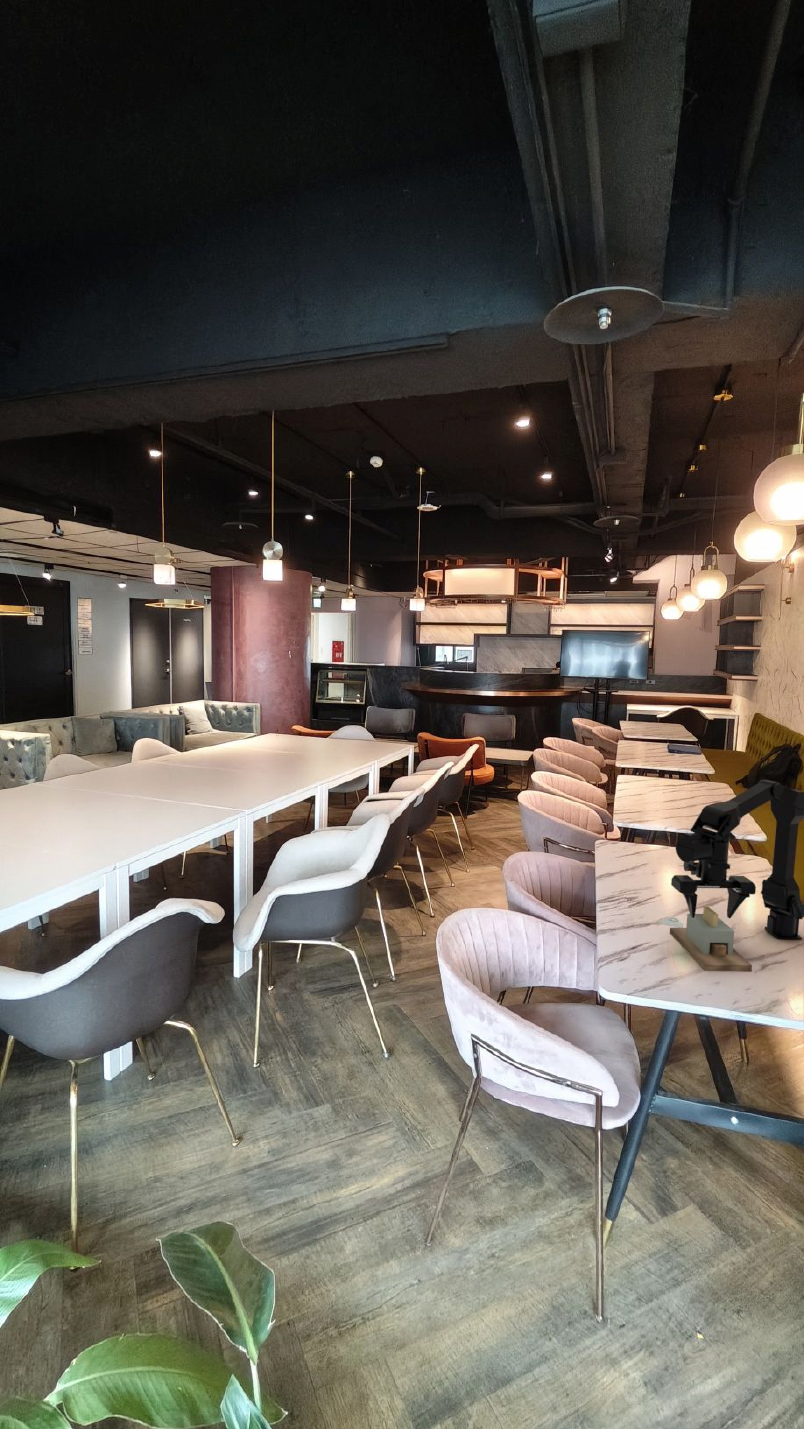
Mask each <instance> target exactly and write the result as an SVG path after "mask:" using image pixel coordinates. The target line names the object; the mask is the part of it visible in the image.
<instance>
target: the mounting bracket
mask: <svg viewBox="0 0 804 1429" xmlns="http://www.w3.org/2000/svg"><path fill="white" fill-rule="evenodd" d="M659 923H660V924H662V925H664V926H670V927H672V928H684V925H685V923H684V922H680V920H679V918H677V917H674V916H669V917H667V918H663V917H661V919H660V921H659Z"/></svg>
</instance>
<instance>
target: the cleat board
mask: <svg viewBox="0 0 804 1429" xmlns="http://www.w3.org/2000/svg"><path fill="white" fill-rule="evenodd" d="M669 934H670V935H671V936H672V937H673V938H674V939H675V940H676V941H677V942H678V944H680V945H681V947H682V948H683V949H684V950H685V951H686V952H687V953H688V954H689V955H690V956H691V957H692V958H693V959H694V960H695V962H696V963H698V965H699V966H701V968H702V969H703V970H704V971H705V972H706V971H707V972H708V971H710V972H714V971H715V972H752V969H753V965H752V963H751V962H749V961H748V960H747V959H746V958H744V956H743V955H741V954H740V953H739V952H738V951H737V950H736V949H735V948H734V947H733V955H728V954H727V953H726V946H725V945H724V944H723V943H710V950H709V954H703V953H702V952H701V951H700V950H699V949H698V948H697V947H696V946H695V945H694V944H693V943H692V942H691V941H690V940H689V939H688V938H687V937H686V927H683V928H678V927H669Z"/></svg>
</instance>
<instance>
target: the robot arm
mask: <svg viewBox="0 0 804 1429" xmlns="http://www.w3.org/2000/svg"><path fill="white" fill-rule="evenodd" d="M768 802H770V804H769V805H770V811H771V813H772V815H773V817H774V819H775V834H774V846H773V857H772V858H773V859H772V868H771V874H770V875H769V877H767V879H763V880H762V882H761V891H760V894H761V896H762V897H761V898H762V900H763V906H764V908H766V909H769V914H767V919H766V921H767V923H766V926H764V930H765V931H767V932H768V933H770V934H771V935H772V936H773V937H774V938H776V939H777V940H802V939H803V938H802V936H801V935H800V934H799V928H800V920H804V902H803V901H802V900H801V894H800V892H801V891H800V887H799V884H798V883H797V881H796V879H795V868H796V867H795V866H796V856H797V855H796V854H797V844H798V833H799V832H798V831H799V825H800V823H801V821H803V819H804V791H800V790H797V789H792V788H790V787H789V788H788V787H787V786H785V785H783V784H782V783H779V782H777V781H773V780H772V781H771V780H768V779H760V780H759V781H758V782H757V783H756V784H754V785H753V786H752V787H749V788H748V789H746V790H744V791H743V792H741V793H740V794H737V795H736V796H734V797H732V798H730V799H729V800H727V801H718V802H714V803H713V802H712V803H710V804H708V805H706V806H704V807H703V808H702V809H701V812H700V813H699V815H698V816H697V818H696V819H695V821H694V823H693V825H692V827H691V828H690V832H691V833H690V832H683V835H682V836H683V837H682V838H680V839H678V841H677V843H676V844H675V853H676V855H677V857H678V858H679V860H681V861H682V862H683V870H684V872H690V875H691V876H695V877H697V878H698V879H693V878H692V877H691V876H689V875H688V874H685V875H683V874H674V875H673V876H672V878H671V880H670V881H671V883H670V885H671V886H672V887H673V888H674V889H675V890H677V892H678V893H680V894H682V896H684V899H685V902H686V904H687V905H686V906H687V909H688V912H689V914H690V915H691V917H692V918H694V916H695V914H696V912H697V905H698V904H697V903H698V896H699V895H698V894H697V893H696V892H698V889H727V893H728V896H727V898H728V899H727V909H726V917H727V918H728V919H731V918H732V917H733V916H734V914H736V911H737V910H738V908H739V907H740V906H741V905H742V903H743V902H745V900H746V898H750V896H751V895H755V894H756V892H757V891H756V888H757V886H756V885H755V883H754V881H752V880H750V879H749V878H748V877H746V876H745V875H730V876H729V877H728V878H727V874H728V870H730V869H731V864H729V862H728V861H729V847H730V841H731V840H736V838H737V837H736V835H735V834H733V833H732V832H733V830H735V828H737V827H738V826H740V824H741V819H743V817H745V816H746V815H749V814H750V813H751V812H753V811H755V810H756V809H758V808H760V807H761V806H763V805H764V804H765V805H766V804H767V803H768Z"/></svg>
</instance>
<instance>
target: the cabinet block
mask: <svg viewBox="0 0 804 1429" xmlns="http://www.w3.org/2000/svg"><path fill="white" fill-rule="evenodd" d="M686 915H687V916H686V927H685V928H686V937H687V938H688V939H689V940H690V941H691V942H692V943H693V944H694V945H695V946H696V947H697V948H698V949H699V950H700V951H701V952H702V953H703V954H709V950H710V943H723V944H724V945H725V946H726V953H727V954H728V955H733V948H734V945H735V944H734V941H735V930H734V929H733V928H731V927H730V926H729V925H728V924H727V923H726V922H724V921H723V920H722V919H720V918H719V914H718V913H717V912H715V911H714V910H713V909H712V908H711V907H709V906H703V913H695V916H694V918H692V917H691V915H690V913H687V914H686Z"/></svg>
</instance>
